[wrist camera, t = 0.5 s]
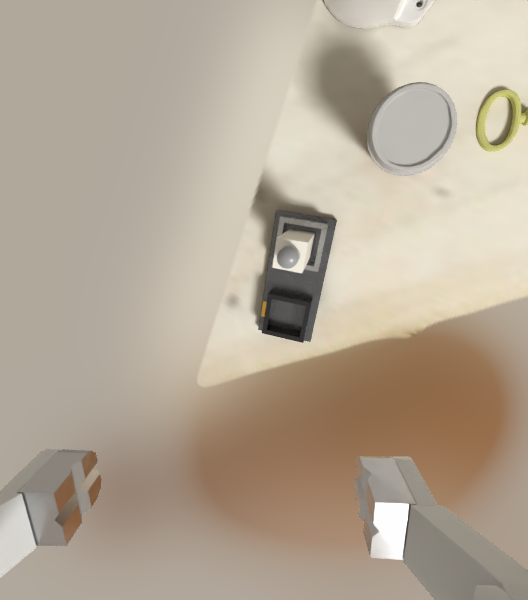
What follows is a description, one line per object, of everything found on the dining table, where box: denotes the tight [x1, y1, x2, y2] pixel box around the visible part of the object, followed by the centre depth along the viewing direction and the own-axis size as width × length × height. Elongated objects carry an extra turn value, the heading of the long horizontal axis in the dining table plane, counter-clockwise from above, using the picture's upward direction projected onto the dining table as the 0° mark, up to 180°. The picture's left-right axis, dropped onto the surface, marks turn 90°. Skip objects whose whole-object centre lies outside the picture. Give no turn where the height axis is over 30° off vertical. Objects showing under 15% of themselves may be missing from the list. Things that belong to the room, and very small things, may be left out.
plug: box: [272, 229, 315, 273], centre depth 44 cm, size 4×4×15 cm
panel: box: [258, 210, 337, 343], centre depth 52 cm, size 22×10×4 cm, turn 172°
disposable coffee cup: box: [367, 82, 457, 176], centre depth 39 cm, size 10×10×12 cm
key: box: [476, 90, 528, 152], centre depth 40 cm, size 7×12×2 cm, turn 114°
